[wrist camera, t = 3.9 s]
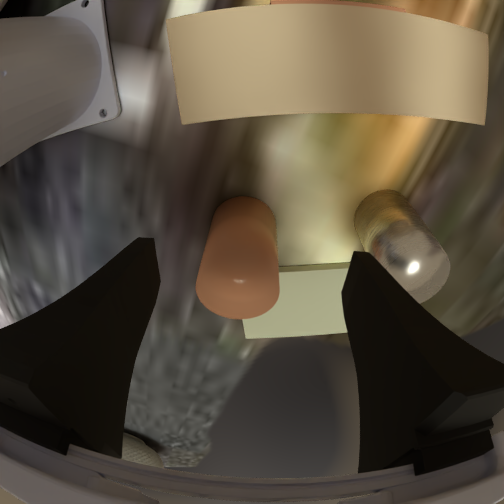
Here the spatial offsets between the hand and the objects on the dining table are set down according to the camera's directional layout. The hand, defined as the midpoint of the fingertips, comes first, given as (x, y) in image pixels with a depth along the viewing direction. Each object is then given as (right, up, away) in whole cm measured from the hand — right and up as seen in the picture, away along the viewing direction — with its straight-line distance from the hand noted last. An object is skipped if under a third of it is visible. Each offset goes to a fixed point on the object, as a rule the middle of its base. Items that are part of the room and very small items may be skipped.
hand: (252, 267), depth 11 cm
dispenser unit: (+3, +11, +2) cm, 11 cm away
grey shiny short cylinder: (+8, +3, +8) cm, 12 cm away
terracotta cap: (-1, +2, +8) cm, 9 cm away
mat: (+4, -3, +12) cm, 13 cm away
